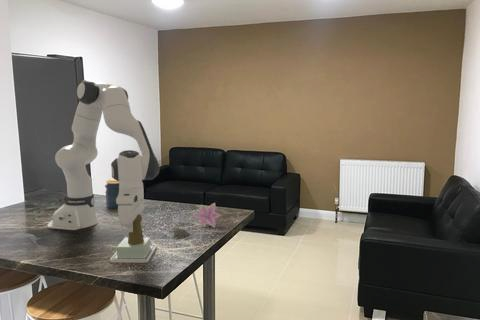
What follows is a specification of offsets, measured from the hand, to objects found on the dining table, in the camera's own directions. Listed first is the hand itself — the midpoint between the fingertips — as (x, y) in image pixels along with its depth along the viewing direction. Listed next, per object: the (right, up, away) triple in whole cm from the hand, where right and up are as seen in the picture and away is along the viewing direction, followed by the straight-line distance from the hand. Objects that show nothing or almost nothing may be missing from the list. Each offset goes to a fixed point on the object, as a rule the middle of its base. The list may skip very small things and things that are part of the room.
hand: (133, 228), depth 149 cm
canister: (-27, +1, +69) cm, 74 cm away
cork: (+1, -6, +1) cm, 6 cm away
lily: (+25, -5, +37) cm, 45 cm away
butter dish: (0, -11, +2) cm, 11 cm away
